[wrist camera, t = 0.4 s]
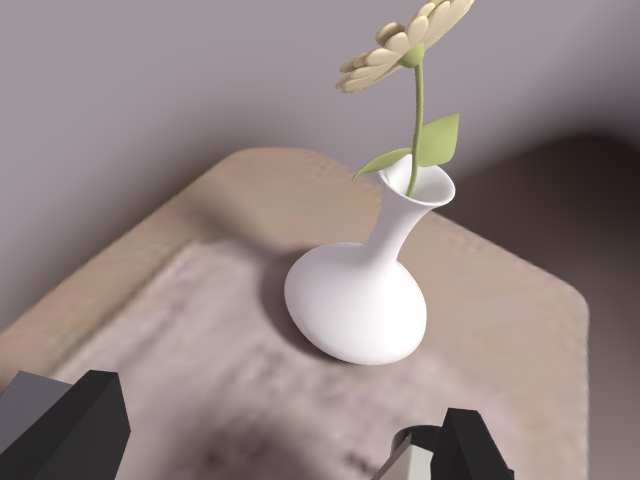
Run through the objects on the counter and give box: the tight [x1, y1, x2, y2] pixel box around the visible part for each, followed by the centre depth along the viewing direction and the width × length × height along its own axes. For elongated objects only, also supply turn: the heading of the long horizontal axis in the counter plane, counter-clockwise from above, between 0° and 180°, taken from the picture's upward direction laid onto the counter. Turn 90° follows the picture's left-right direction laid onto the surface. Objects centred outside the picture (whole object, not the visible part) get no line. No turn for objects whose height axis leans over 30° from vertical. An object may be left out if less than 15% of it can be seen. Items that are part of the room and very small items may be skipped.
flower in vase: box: [284, 0, 474, 365], centre depth 31 cm, size 13×11×25 cm
